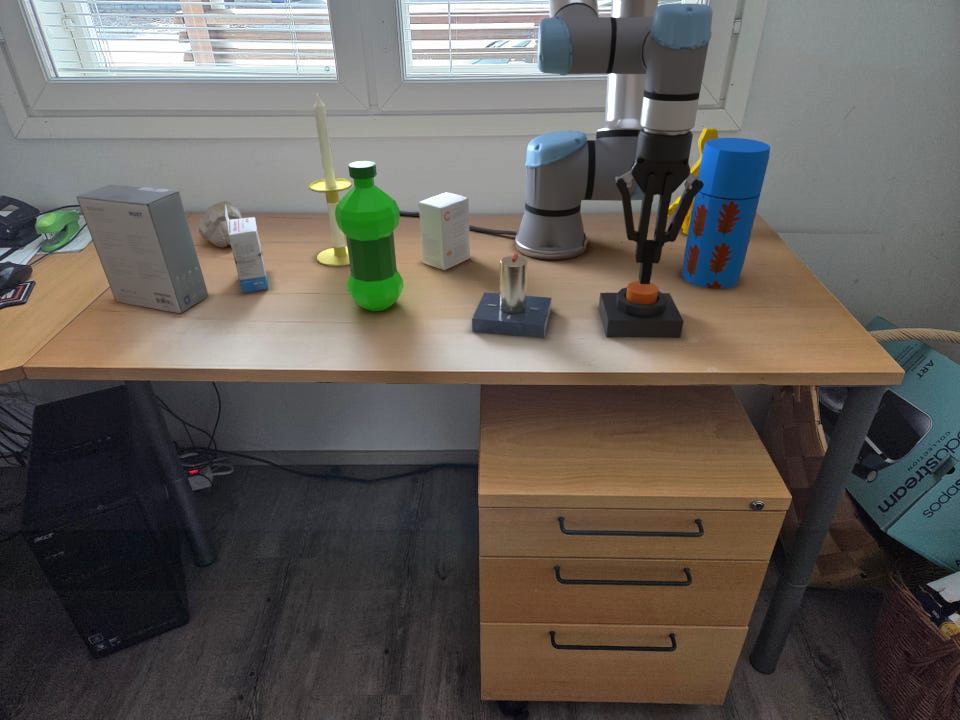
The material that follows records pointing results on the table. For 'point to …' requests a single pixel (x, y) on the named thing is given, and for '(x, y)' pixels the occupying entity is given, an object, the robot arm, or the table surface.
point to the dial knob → (513, 284)
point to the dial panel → (512, 317)
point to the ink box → (247, 253)
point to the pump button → (642, 293)
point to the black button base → (639, 316)
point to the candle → (329, 191)
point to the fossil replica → (218, 223)
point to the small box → (445, 230)
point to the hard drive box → (144, 246)
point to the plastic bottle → (370, 239)
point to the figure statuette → (704, 137)
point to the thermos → (724, 211)
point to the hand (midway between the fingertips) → (644, 280)
